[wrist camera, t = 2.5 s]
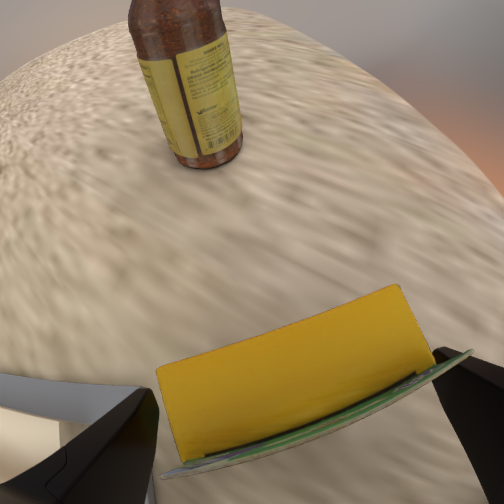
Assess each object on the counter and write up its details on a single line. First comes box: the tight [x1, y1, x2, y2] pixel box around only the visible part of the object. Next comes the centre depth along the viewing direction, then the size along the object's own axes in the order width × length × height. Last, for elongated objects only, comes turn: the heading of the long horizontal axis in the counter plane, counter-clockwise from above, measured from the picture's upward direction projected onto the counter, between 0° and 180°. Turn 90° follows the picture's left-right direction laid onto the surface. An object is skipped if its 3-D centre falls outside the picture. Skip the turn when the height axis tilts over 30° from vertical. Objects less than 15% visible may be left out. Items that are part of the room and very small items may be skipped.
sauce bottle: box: [128, 0, 243, 168], centre depth 17 cm, size 7×6×20 cm
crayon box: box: [156, 284, 474, 480], centre depth 11 cm, size 7×3×12 cm, turn 108°
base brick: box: [0, 406, 89, 484], centre depth 10 cm, size 9×9×3 cm
